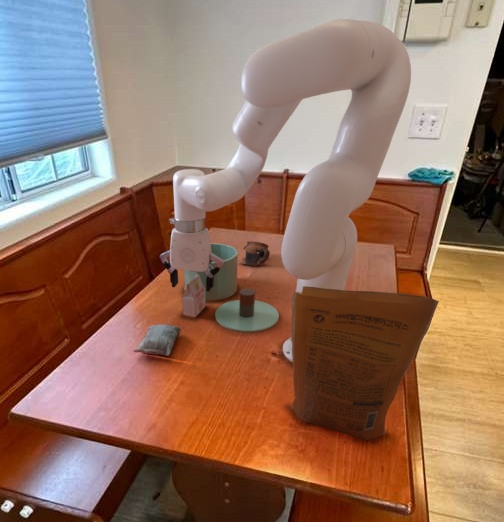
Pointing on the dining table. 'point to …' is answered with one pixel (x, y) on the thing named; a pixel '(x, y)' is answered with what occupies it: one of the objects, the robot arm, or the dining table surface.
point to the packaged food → (159, 340)
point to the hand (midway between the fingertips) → (191, 287)
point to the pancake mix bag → (353, 355)
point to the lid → (246, 314)
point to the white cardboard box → (193, 297)
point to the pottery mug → (255, 253)
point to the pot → (219, 273)
